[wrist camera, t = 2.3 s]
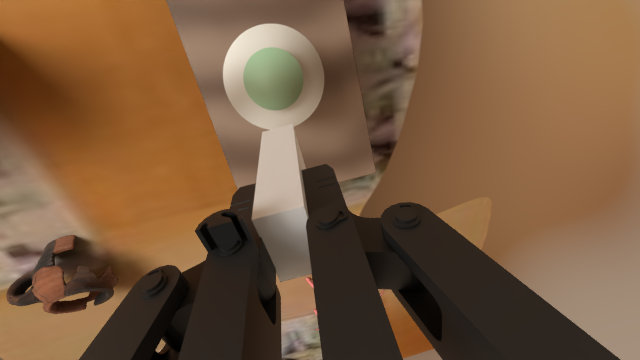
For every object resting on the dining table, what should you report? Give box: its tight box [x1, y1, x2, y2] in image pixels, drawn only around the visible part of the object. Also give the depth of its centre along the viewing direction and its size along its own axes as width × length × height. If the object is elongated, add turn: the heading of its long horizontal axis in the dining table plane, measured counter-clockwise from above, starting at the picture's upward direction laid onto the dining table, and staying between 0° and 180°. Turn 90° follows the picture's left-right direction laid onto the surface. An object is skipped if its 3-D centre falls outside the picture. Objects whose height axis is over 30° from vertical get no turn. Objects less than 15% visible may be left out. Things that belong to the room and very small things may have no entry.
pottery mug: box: [7, 235, 119, 314], centre depth 39 cm, size 12×10×8 cm
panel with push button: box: [166, 0, 376, 189], centre depth 23 cm, size 22×14×8 cm, turn 13°
